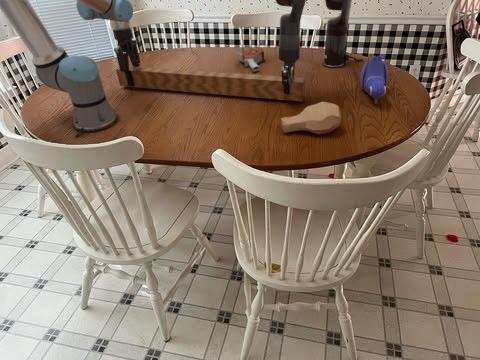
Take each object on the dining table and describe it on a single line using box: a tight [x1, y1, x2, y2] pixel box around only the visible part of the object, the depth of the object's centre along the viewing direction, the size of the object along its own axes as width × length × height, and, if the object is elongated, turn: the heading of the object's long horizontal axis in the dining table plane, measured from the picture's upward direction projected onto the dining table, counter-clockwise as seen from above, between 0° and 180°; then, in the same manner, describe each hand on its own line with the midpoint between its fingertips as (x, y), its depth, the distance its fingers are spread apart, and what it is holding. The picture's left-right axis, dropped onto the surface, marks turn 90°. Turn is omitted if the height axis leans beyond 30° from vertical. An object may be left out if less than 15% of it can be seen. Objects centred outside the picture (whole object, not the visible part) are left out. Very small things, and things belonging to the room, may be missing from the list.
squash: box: [280, 101, 342, 135], centre depth 117 cm, size 11×20×9 cm, turn 92°
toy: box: [359, 54, 389, 105], centre depth 135 cm, size 10×17×25 cm
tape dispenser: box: [237, 48, 265, 73], centre depth 175 cm, size 18×5×20 cm
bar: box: [115, 65, 307, 102], centre depth 147 cm, size 82×5×8 cm, turn 71°
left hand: (134, 83), depth 159 cm, fingers closed on bar, 5 cm apart
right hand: (288, 90), depth 138 cm, fingers closed on bar, 4 cm apart
